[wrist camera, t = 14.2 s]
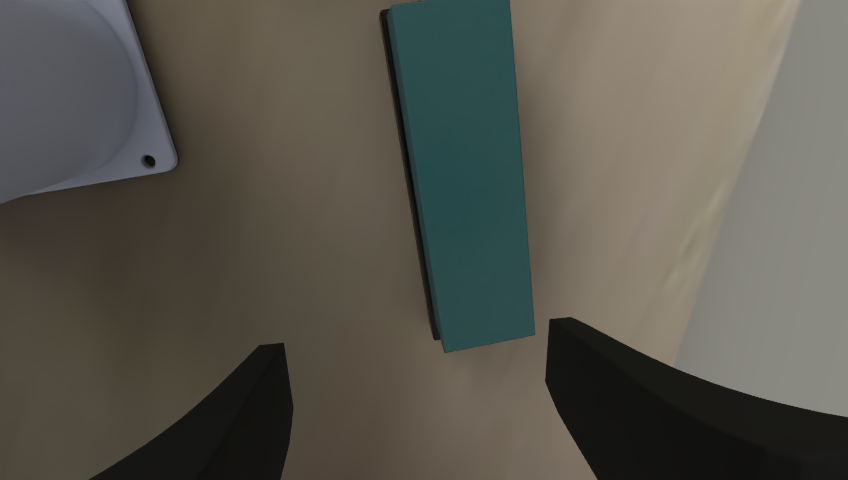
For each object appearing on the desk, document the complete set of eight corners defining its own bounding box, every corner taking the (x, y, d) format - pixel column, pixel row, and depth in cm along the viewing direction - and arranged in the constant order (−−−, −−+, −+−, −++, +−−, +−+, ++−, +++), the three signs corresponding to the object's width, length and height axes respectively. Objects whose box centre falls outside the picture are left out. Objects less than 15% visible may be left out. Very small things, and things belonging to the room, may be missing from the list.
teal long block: (512, 310, 23) (541, 355, 20) (429, 326, 23) (443, 375, 19) (483, -2, 19) (514, -21, 15) (378, 14, 18) (383, -1, 15)
